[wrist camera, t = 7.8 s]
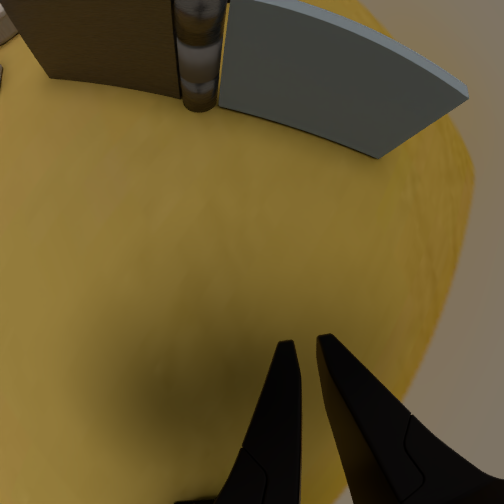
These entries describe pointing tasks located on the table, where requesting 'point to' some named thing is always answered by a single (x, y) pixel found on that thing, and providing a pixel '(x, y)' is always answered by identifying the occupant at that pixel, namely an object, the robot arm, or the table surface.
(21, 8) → the hinge fixed leaf
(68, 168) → the table surface
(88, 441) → the table surface
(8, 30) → the ramekin
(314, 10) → the hinge swing leaf
